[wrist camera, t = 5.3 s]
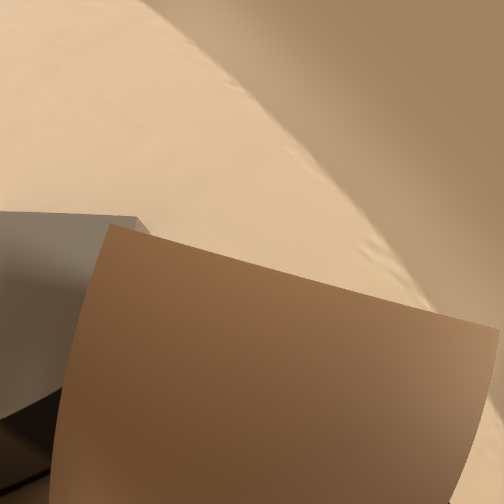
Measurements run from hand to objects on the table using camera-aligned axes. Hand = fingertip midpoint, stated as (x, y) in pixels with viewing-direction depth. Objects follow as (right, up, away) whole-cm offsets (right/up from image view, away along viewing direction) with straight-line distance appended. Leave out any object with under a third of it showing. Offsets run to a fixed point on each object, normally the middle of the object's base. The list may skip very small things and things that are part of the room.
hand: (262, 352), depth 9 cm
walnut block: (-1, -3, +6) cm, 7 cm away
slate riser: (-14, -2, +10) cm, 17 cm away
